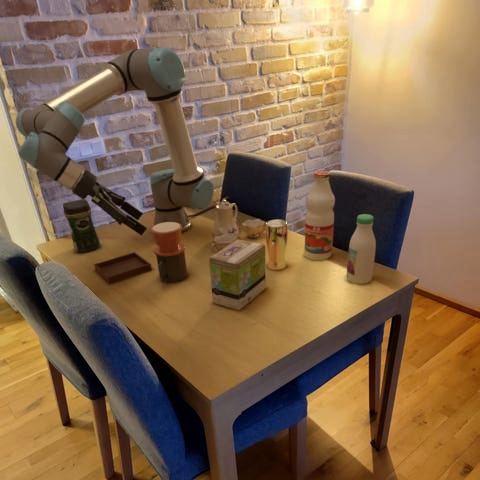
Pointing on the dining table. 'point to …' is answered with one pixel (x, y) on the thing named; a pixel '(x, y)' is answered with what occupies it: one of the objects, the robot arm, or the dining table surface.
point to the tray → (122, 267)
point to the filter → (167, 239)
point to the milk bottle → (361, 251)
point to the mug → (172, 268)
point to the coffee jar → (81, 225)
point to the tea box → (237, 273)
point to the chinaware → (231, 226)
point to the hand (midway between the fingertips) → (142, 224)
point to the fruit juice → (319, 218)
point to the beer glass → (276, 243)
